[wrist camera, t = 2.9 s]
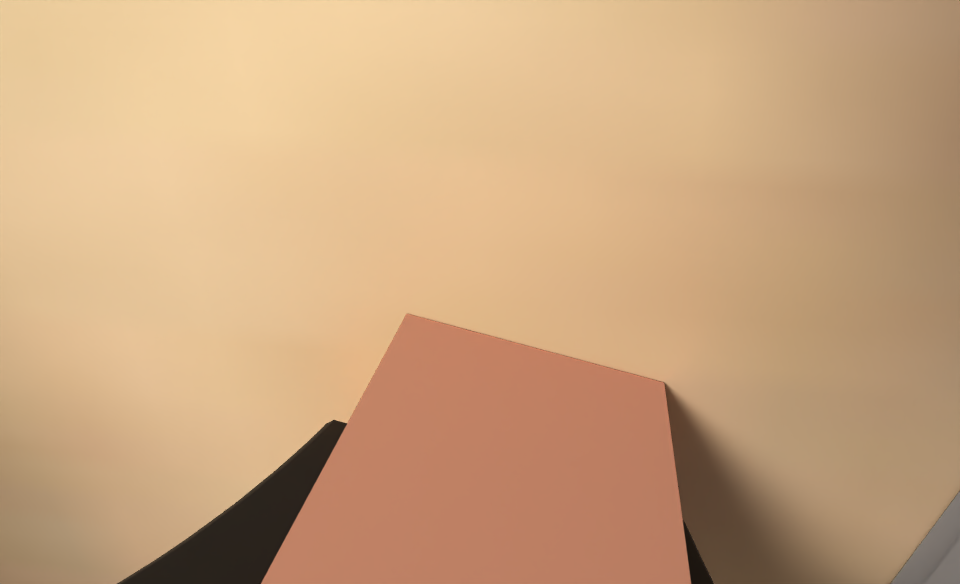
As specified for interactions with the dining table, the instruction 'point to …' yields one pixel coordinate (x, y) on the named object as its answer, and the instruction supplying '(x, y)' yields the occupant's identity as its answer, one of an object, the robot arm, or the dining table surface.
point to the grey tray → (936, 552)
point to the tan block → (493, 473)
